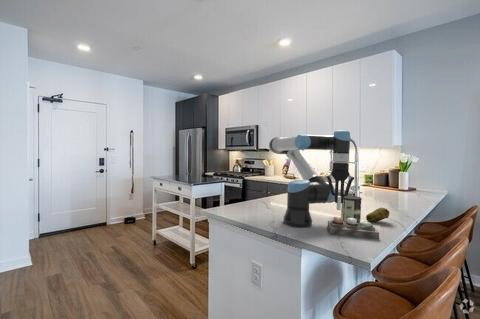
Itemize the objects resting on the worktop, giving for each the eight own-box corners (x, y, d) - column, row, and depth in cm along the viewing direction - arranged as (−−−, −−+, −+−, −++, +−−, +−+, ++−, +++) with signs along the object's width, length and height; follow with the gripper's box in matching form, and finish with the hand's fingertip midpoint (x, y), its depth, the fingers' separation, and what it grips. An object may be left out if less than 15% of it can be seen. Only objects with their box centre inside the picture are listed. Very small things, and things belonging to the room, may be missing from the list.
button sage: (362, 227, 114) (362, 223, 114) (360, 225, 118) (360, 221, 118) (372, 228, 113) (372, 224, 113) (369, 226, 117) (370, 222, 117)
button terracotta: (333, 222, 118) (334, 218, 117) (332, 220, 122) (332, 216, 122) (343, 223, 116) (343, 219, 116) (341, 220, 121) (341, 217, 120)
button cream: (348, 223, 116) (348, 219, 116) (346, 221, 120) (346, 217, 120) (357, 224, 115) (357, 220, 115) (355, 222, 119) (355, 218, 119)
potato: (362, 218, 141) (363, 205, 141) (385, 220, 139) (386, 206, 139) (367, 223, 133) (368, 208, 133) (392, 224, 131) (393, 210, 131)
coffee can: (357, 219, 139) (358, 195, 139) (362, 225, 129) (364, 199, 129) (338, 218, 141) (339, 194, 141) (342, 223, 131) (343, 198, 131)
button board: (330, 234, 114) (330, 225, 114) (327, 226, 126) (327, 218, 126) (378, 239, 109) (379, 230, 109) (371, 230, 121) (371, 222, 121)
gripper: (327, 162, 116) (325, 210, 117) (356, 163, 112) (354, 212, 114) (325, 161, 123) (323, 206, 124) (353, 162, 120) (351, 208, 121)
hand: (338, 209), depth 119 cm, fingers closed
